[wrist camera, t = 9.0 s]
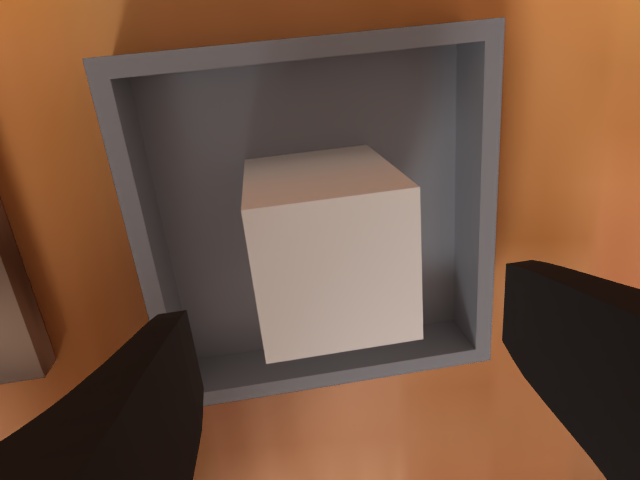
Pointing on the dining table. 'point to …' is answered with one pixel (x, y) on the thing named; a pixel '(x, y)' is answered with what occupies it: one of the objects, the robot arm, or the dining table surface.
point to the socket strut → (332, 252)
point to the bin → (297, 137)
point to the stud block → (19, 317)
